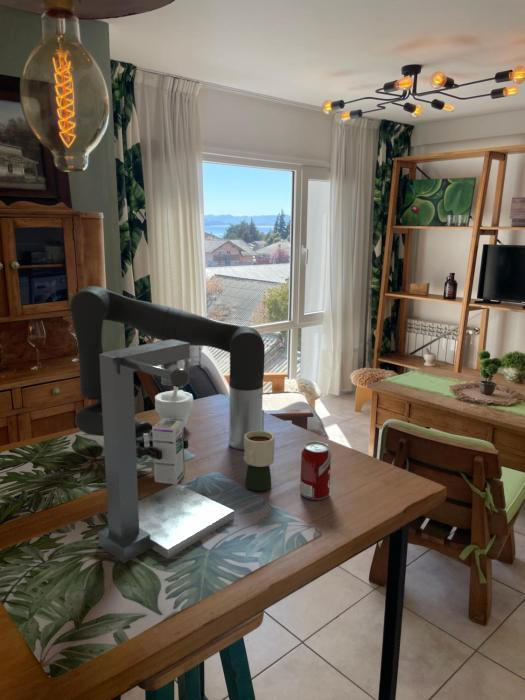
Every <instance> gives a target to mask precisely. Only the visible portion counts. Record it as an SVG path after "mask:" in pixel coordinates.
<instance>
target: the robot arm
mask: <svg viewBox="0 0 525 700" xmlns="http://www.w3.org/2000/svg"><path fill="white" fill-rule="evenodd" d="M69 308H70V310H69V311H70V314H71V318H72V323H73V327H74V332H75V337H76V342H77V351H78V361H79V363H78V364H79V380H80V381H79V383H80V384H79V385H80V393H81V397H83V398H84V399H85V400H90V401H91V400H92V401H94V400H95V401H96V403H93V404H90V405H87V406H83V407H82V408H80V409H78V411H77V412H76V413H75V416H74V422H75V425H76V427H77V428H78V429H79V430H80V432H82V433H85V434H86V435H92V436H99V437H104V433H103V414H102V395H101V377H100V358H99V354H102V353H103V352H104V351H103V349H104V347H103V336H102V335H103V327H104V326H103V325H104V321H110V322H115V323H119V324H124V325H127V326H129V327H131V328H134V329H135V330H137V331H139V332H141V334H142V333H143V334H144V335H147V336H148V337H151V338H153V339H155V340H159V341H165V340H170V339H174V340H179V341H183V342H187V343H190V346H191V347H192V346H193V347H194V346H195V347H197V346H198V347H210V348H214V349H218V350H221V351H224V352H226V353H229V377H228V378H229V379H228V380H229V384H228V385H229V395H228V396H229V403H228V404H229V405H228V406H229V409H228V410H229V411H228V412H229V414H228V415H229V417H228V419H229V420H228V421H229V424H228V426H229V427H228V431H229V432H228V435H229V437H228V441H229V442H228V444H229V446H230V447H231V448H233V449H235V450H241V451H245V448H244V435H245V434H246V433H248V432H251V431H265V430H264V429H265V410H264V409H263V395H264V394H263V393H264V392H263V390H264V389H263V388H264V375H265V357H266V355H265V353H266V352H265V350H266V349H265V347H266V346H265V342H264V340H263V338H262V335H261V334H260V332H259V331H258V330H256V329H255V328H254V327H253V328H252V327H251V326H250V327H249V326H245V325H239V324H232V323H225V322H221V321H217V320H213V319H209V318H208V317H204V316H201V315H198V314H196V313H193V312H189V311H186V310H183V309H179V308H175V307H172V306H167V305H163V304H159V303H153V302H150V301H144V300H139V299H134V298H131V297H128V296H124V295H122V294H119V293H116V292H114V291H111V290H108V289H106V288H103V287H100V286H97V285H96V286H95V285H89V286H85V287H83V288H82V289H80V290H79V291H77V292H76V293H74V295H73V296H72V298H71V300H70V303H69ZM153 426H154V425H152V424H151V423H150V422H148V421H146V420H142V419H139V418H137V417H135V433H136V459H142V458H143V456H145V457H148V458H149V457H150V458H153V459H154V458H155V459H158V460H160V459H162V451H161V450H159V449H157V448H155V447H153V433H152V427H153ZM187 449H189V440H188V439H186V438H184V450H187Z"/></svg>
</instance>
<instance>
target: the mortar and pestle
mask: <svg viewBox="0 0 525 700" xmlns="http://www.w3.org/2000/svg"><path fill="white" fill-rule="evenodd" d="M192 361H193V359H191V358H188V362H189V363H191V362H192ZM185 364H186V362H185V359H183V360H179V361H178V368H182V369H185ZM156 367H159V368H161V365H158V366H156ZM154 408H155V410H154V411H155V413H158V416H159V418H160V420H161V419H162V418H171V419H179V420H183V429H184V428H185V427H186V426H187V421H188V419H189V416H190V414H191V413H190V412H192V411H193V410H194V396H193V394H192V393H190V392H187V391H184V390H183V389H179V388H178V387H175V386H174V385H173V390H169V391H164V392H159V393H158V394H156V395H155V396H154Z"/></svg>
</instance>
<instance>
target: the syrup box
mask: <svg viewBox="0 0 525 700" xmlns="http://www.w3.org/2000/svg"><path fill="white" fill-rule="evenodd" d="M152 426H153V427H152V433H153V447H155V448H157V449H159V450H161V451H162V459H160V460H158V459H155V458H153V471H154V473H153V475H154V482H155V483H160V484H164V485H174V484H176V483H177V484H179V482H180V481H181V479H182V478H183V477H184V476H185V473H186V472H185V471H186V470H185V468H186V467H185V449H184V439H185V438H184V428H183V420H179V419H171V418H162V419H161V418H160V420H158V422H156V423H155V424H154V425H152Z"/></svg>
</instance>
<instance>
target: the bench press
mask: <svg viewBox="0 0 525 700" xmlns="http://www.w3.org/2000/svg"><path fill="white" fill-rule="evenodd" d="M190 346H191V345H190V343H187V342H183V341H179V340H174V339H170V340H165V341H162V340H159V341H155V342H152V343H151V342H149V343H146V344H140V345H135V346H129V347H125V348H120V349H116V350H115V349H114V350H109V351H105V352H104V351H103V353H102V354H99V358H100V377H101V395H102V414H103V433H104V436H103V448H104V449H103V450H104V452H103V453H104V466H105V467H104V469H105V483H106V484H105V485H106V486H105V487H106V504H107V522H108V524H107V525H108V526H107V527H105V528H104V529H103V528H102V529H101V530H99V531H98V532H97V534H98V538H97V539H98V546H99V547H100V548H101V549H103V550H104V551H106V552H108V553H109V554H110V555H112V556H113V557H115V558H116V559H118V561H120V562H121V563H123V564H126V563H127V562H130V561H131V560H133V559H134V558H136V557H138V556H140V555H141V554H143V553H145V552H147V551H149V550H153V551H154V552H155V553H157V552H158V554H159V555H161V556H162V557H164V558H166V559H167V560H168V559H169V560H170V559H171V558H172V557H174V556H175V555H177V554H179V553H181V552H182V551H184V550H185V549H187V548H189V547H190V546H191V545H194V544H195V543H197V542H198V541H201V540H202V539H203V538H205V537H206V536H207V537H208V535H210V534H212V533H213V532H215V531H216V529H217V530H218V529H220V528H221V526H222V527H223V526H225V525H226V524H228V523H230V522H231V521H233V520H234V519H235V510H234V509H232V508H230V507H227V506H225V505H223V504H221V503H220V502H217V501H215V500H213V499H211V498H209V497H206V496H204V495H202V494H201V493H198V492H196V491H194V490H192V489H190V488H188V487H185V486H184V485H182V484H179V483H176V484H171V485H169V486H167V487H166V488H164V489H161V490H159V491H156V492H155V493H153V494H150V495H149V496H147V497H144V498H142V499H140V500H139V493H138V488H139V487H138V467H137V466H138V464H137V463H138V462H137V459H138V458H137V457H136V433H135V418H136V414H135V408H136V407H135V390H134V389H135V388H134V387H135V384H134V372H137V371H139V372H142V373H146V374H149V375H153V376H157V377H160V378H161V381H160V382H161V385H163V386H167V387H171V386H172V387H174V386H175V387H178V389H179V388H184V387H186V386H187V385H188V384H189V383H190V377H191V376H190V373H189V372H188V370H187V369H185V368H184V369H182V368H178V361H179V360H183V359H184V360H186V359H188V360H189V359H191V355H190V354H191V353H190V350H191V349H190ZM158 365H161V368H159V367H156V366H158ZM233 518H234V519H233ZM232 519H233V520H232ZM230 520H231V521H230ZM229 521H230V522H229ZM227 522H228V523H227ZM224 524H225V525H224ZM219 527H220V528H219ZM211 532H212V533H211ZM201 538H202V539H201ZM188 546H189V547H188ZM186 547H187V548H186ZM148 549H149V550H148ZM183 549H184V550H183Z"/></svg>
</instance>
